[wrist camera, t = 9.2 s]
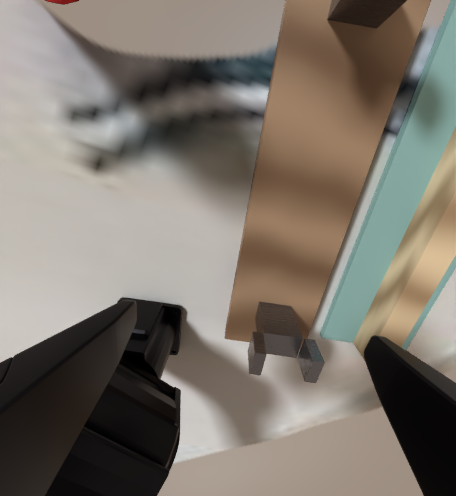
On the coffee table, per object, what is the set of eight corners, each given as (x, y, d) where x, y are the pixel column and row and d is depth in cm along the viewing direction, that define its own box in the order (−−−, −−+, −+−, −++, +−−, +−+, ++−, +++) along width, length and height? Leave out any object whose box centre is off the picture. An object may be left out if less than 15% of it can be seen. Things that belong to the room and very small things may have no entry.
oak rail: (375, 345, 23) (390, 365, 21) (353, 342, 23) (365, 362, 21) (571, -24, 12) (643, -63, 10) (530, -31, 12) (594, -73, 10)
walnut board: (298, 338, 24) (302, 349, 22) (225, 328, 24) (225, 338, 22) (439, -63, 12) (464, -91, 11) (301, -89, 12) (309, -120, 11)
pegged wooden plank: (295, 324, 21) (315, 382, 16) (245, 317, 21) (249, 373, 16) (407, -16, 12) (550, -162, 7) (322, -31, 12) (395, -193, 7)
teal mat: (401, 345, 24) (405, 350, 23) (319, 334, 23) (321, 338, 23) (608, -6, 13) (625, -13, 13) (463, -32, 13) (473, -41, 12)
